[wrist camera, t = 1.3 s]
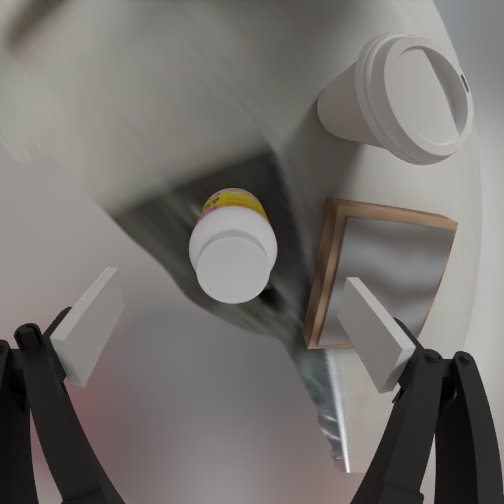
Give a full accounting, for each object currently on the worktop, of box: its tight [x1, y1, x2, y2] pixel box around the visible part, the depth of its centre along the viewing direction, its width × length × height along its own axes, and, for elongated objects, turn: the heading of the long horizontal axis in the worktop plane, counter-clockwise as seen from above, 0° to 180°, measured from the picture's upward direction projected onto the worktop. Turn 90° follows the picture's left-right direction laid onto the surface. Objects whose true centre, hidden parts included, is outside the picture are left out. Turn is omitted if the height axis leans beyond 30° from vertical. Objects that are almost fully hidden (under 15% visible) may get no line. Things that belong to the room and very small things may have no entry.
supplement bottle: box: [189, 188, 277, 304], centre depth 23 cm, size 7×7×13 cm
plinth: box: [302, 198, 458, 349], centre depth 31 cm, size 18×18×4 cm
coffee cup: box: [317, 33, 473, 165], centre depth 18 cm, size 10×10×15 cm
